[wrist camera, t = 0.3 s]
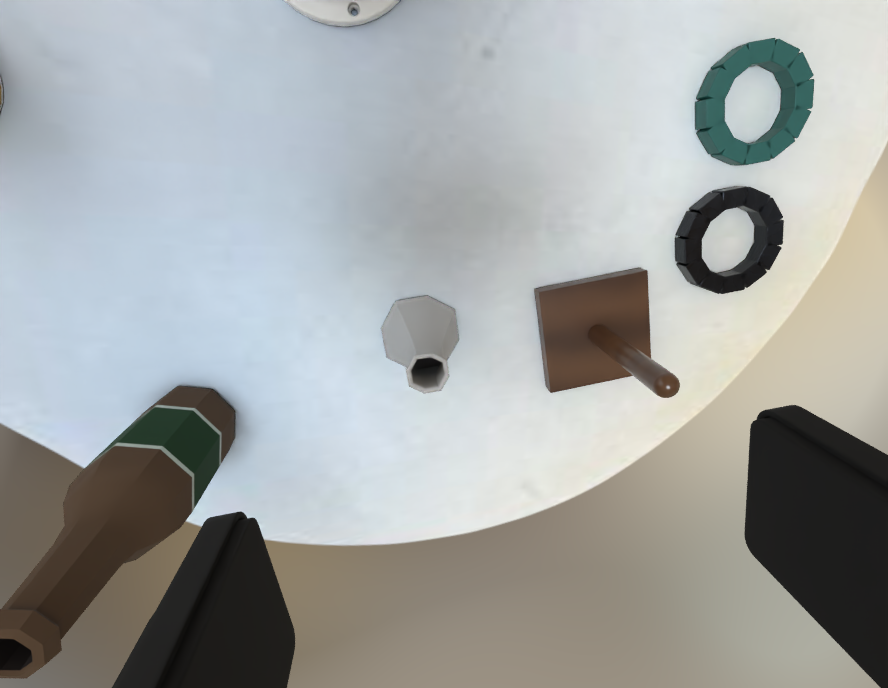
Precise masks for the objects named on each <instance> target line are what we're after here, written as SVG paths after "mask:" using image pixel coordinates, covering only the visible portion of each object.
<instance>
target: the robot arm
mask: <svg viewBox="0 0 888 688" xmlns="http://www.w3.org/2000/svg"><path fill="white" fill-rule="evenodd" d="M283 1H285V2H286V3H287V4H288V5H289V6H291V7H292V8H293V9H294V10H296V11H297V12H299V13H301V14H303V15H304V16H306V17H308V18H310V19H312V20H314V21H318V22H321V23H324V24H327V25H334V26H344V27H346V26H354V25H361V24H364V23H367V22H370V21H373V20H375V19H377V18H379V17H380V16H382V15H384V14H385V13H387V12H388V11H390V10H391V9H392V8H393V7H394V6H395V5H396V4H397V3H398V2H399V1H400V0H283ZM353 9H355V10H357V11H358V14H357V15H356V16H353V15H352V14H351V11H352V10H353ZM747 483H748V484H747V500H746V518H745V540H746V544H747V546H748V548H749V550H750V552H751V553H752V554H753V555H754V557H755V558H756V559H757V560H758V561H759V562H760V563H761V564H762V565H763V566H764V567H765V568H766V569H767V570H768V571H769V572H770V573H771V574H772V575H773V577H774V578H776V580H777V581H778V582H779V583H780V584H781V585H782V586H783V587H784V588H785V589H786V590H787V591H788V592H789V593H790V594H791V595H792V596H793V597H794V598H795V599H796V600H797V601H798V602H799V603H800V604H801V605H802V607H804V609H805V610H806V611H807V612H808V613H809V614H810V615H811V616H812V617H813V618H814V619H815V620H816V621H817V622H818V623H819V624H820V625H821V626H822V627H823V628H824V629H825V630H826V631H827V633H828V634H829V635H830V636H831V637H832V638H833V639H834V640H835V641H836V642H837V643H838V644H839V645H840V646H841V647H842V648H843V649H844V650H845V651H846V652H847V653H848V654H849V655H850V656H851V657H852V658H853V659H854V660H855V662H857V664H858V665H859V666H860V667H861V668H862V669H863V670H864V671H865V672H866V673H867V674H868V675H869V676H870V677H871V678H872V679H873V680H874V681H875V682H876V683H877V684H878V685H879V686H880V687H881V688H888V455H887V454H885V453H883V452H881V451H879V450H878V449H876V448H874V447H872V446H870V445H868V444H867V443H865V442H863V441H861V440H859V439H858V438H856V437H854V436H852V435H850V434H849V433H847V432H845V431H843V430H841V429H840V428H838V427H836V426H834V425H832V424H831V423H829V422H827V421H825V420H823V419H822V418H819V417H818V416H816V415H814V414H812V413H811V412H809V411H807V410H805V409H803V408H802V407H799V406H796V405H789V406H784V407H779V408H774V409H769V410H764V411H762V412H760V413H759V415H758V417H757V420H755V421H753V423H752V424H751V429H750V446H749V464H748V482H747ZM294 649H295V633H294V628H293V625H292V622H291V619H290V616H289V613H288V610H287V607H286V604H285V601H284V598H283V595H282V592H281V589H280V587H279V583H278V581H277V578H276V575H275V572H274V569H273V566H272V563H271V560H270V557H269V554H268V551H267V549H266V545H265V542H264V539H263V537H262V534H261V531H260V528H259V525H258V522H257V520H256V519H255V518H248V519H247V517H246V515H245V514H244V513H243V512H236V513H231V514H225V515H220V516H215V517H210V518H208V519H207V520H206V521H205V522H204V524H203V526H202V528H201V530H200V531H199V533H198V535H197V537H196V539H195V540H194V542H193V544H192V546H191V548H190V550H189V551H188V553H187V555H186V557H185V559H184V561H183V562H182V564H181V566H180V568H179V570H178V571H177V573H176V575H175V577H174V579H173V581H172V582H171V584H170V586H169V588H168V590H167V592H166V593H165V595H164V597H163V599H162V600H161V602H160V604H159V606H158V608H157V610H156V611H155V613H154V614H153V616H152V617H151V619H150V620H149V622H148V624H147V625H146V627H145V629H144V631H143V633H142V635H141V636H140V638H139V640H138V642H137V643H136V645H135V647H134V649H133V651H132V652H131V654H130V656H129V658H128V660H127V662H126V663H125V665H124V667H123V669H122V671H121V673H120V674H119V676H118V678H117V680H116V682H115V683H114V685H113V687H112V688H287V684H288V679H289V674H290V669H291V664H292V659H293V655H294Z"/></svg>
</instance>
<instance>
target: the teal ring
mask: <svg viewBox="0 0 888 688" xmlns="http://www.w3.org/2000/svg"><path fill="white" fill-rule="evenodd" d="M799 51H800V49H798V48H796V47H794V46H792V45H790V44H788V43H786V42H784V41H782V40H780V39H776V40H775V38H771V39H766V40H760V41H755V42H749V43H747V44H744V45H742V46H739V47H737V48H735V49H732V50H731V51H730V52H729V53H728V54H727V55H725V56H724V57H723V58H722V59H721V60H720V61H718V62H717V63H716V64H715V65H714V66H713V67H711V69H712V70H711V71H709V72H708V74H707V76H706V78H705V80H704V82H703V85H702V87H701V89H700V91H699V93H698V95H697V99H698V100H701V101H697V102H696V103H695V122H696V130H699V129H700V130H699V131H698V132H697V133H696V134H697V135H698V137H699V139H700V140H701V142H702V144H703V146H704V147H705V149H706V151H707V152H708V154H711V156H712V157H714V158H716V159H719V160H721V161H723V162H726V163H728V164H730V165H748V164H753V163H758V162H764V161H769V160H770V159H773V158H775V157H776V156H777V155H778V154H780V153H781V152H782V151H783V150H785V149H786V148H787V147H788V146H789V145H791V144H792V143H793V142H794V141H795V140H794V138H798V136H799V134H800V132H801V130H802V129H803V127H804V125H805V123H806V121H807V119H808V117H809V115H810V113H811V111H809V110H807V109H810V108H812V106H813V91H814V79H810V78H811V77H812V76H813V73H812V71H811V69H810V67H809V65H808V62H807V60H806V58H805V56H804V54H803V52H801V53H799ZM755 65H759V66H761V67H763V68H765V69H767V70H769V71H771V72H773V73H774V75H775V77H776V79H777V81H778V83H779V85H780V87H781V89H782V92H781V110H780V112H779V114H778V116H777V118H776V120H775V122H774V124H773V126H772V128H771V130H770V131H768V132H767V133H766V134H765V135H763V136H762V137H761V138H760V139H759V140H757V141H756V142H753V143H748V144H747V143H745V142H743V141H740V140H738V139H736V138H734V137H733V135H732V133H731V131H730V130H729V128H728V126H727V124H726V122H725V98H726V96H727V94H728V92H729V90H730V87H731V85H732V83H733V81H734V79H735V78H736V77H737V76H739V75H740V74H741V73H742V72H743V71H745V70H746V69H747V68H748V67H750V66H755ZM809 79H810V80H809Z"/></svg>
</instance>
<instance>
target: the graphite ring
mask: <svg viewBox="0 0 888 688" xmlns="http://www.w3.org/2000/svg"><path fill="white" fill-rule="evenodd" d="M736 207H738V208H740V209H743V210H745V211H747V213H748V214H749V216H750V218H751V220H752V221H753V223H754V225H755V236H754V244H753V246H752V247H751V249H750V251H749V253H748V255H747V257H746V259H745V260H744V261H742V262H741V263H740V264H739V265H737V266H736V267H735V268H734V269H732V270H730V271H725V272H720V273H714V272H712V271H710V270H709V268H708V267H707V265H706V263H705V262H704V260H703V259H702V238H703V236H704V234H705V232H706V230H707V228H708V226H709V224H710V222H711V221H712V220H713V219H715V218H716V217H717V216H718V215H720V214H721V213H722V212H723V211H724V210H726V209H731V208H736ZM689 210H690V211H691V212H686V214H685V216H684V218H683V221H682V223H681V225H680V227H679V229H678V231H677V233H676V235H677V236H680V237H677V238H675V259H676V261H677V262H678V263H677V266H678V267H679V269H680V270H681V272H682V273H683V275H684V276H685V278H686V279H687V281H688V282H690V283H691V284H693V285H696V286H699V287H701V288H704V289H707V290H709V291H712V292H715V293H718V294H719V293H721V294H724V293H729V292H734V291H739V290H744V289H745V287H746V288H748V287H749V286H750V285H752V284H753V283H754V282H756V281H757V280H758V279H759V278H761V277H762V276H763V275H765V274H766V273H767V272H766V270H770V268H771V266H772V264H773V263H774V261H775V259H776V257H777V255H778V253H779V252H780V250H781V248H782V247H780V246H777V245H781V244H783V224H784V220H780V219H782V218H783V216H782V214H781V212H780V210H779V208H778V207H777V205H776V203H775V201H774V199H773V198H770V195H768V194H765V193H763V192H761V191H758V190H756V189H754V188H752V187H741V186H734V187H729V188H724V189H719V190H714V191H712V193H708V194H707V195H705V196H704V197H703V198H702V199H701V200H699V201H698V202H697V203H696V204H694V205H693V206H692V207H691V208H690V209H689ZM765 269H766V270H765Z"/></svg>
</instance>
